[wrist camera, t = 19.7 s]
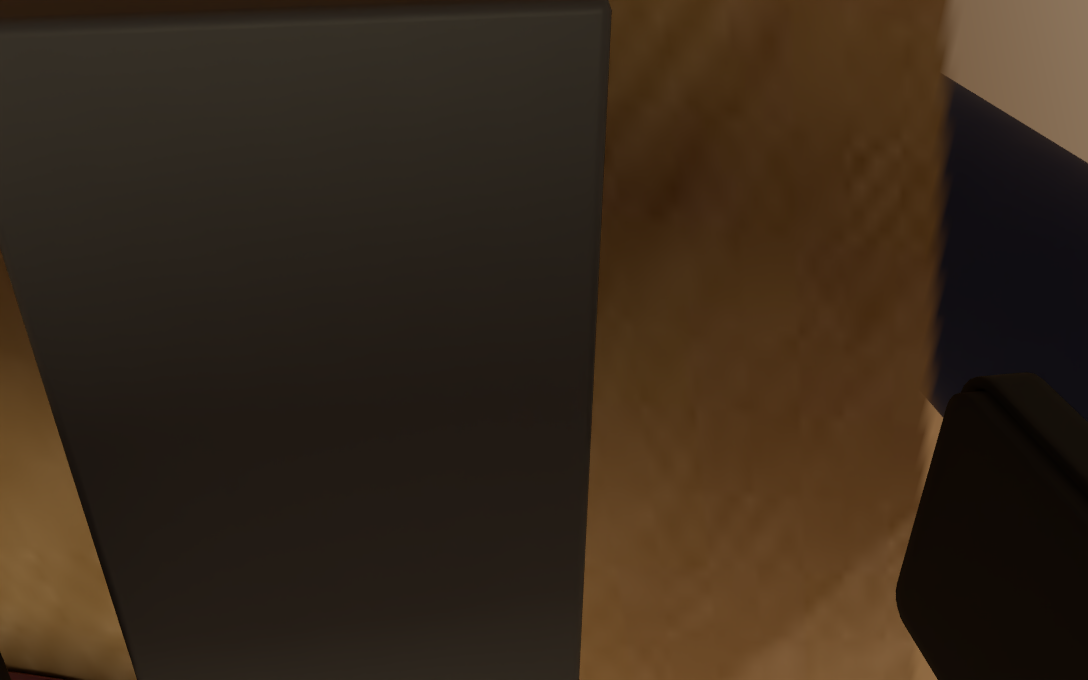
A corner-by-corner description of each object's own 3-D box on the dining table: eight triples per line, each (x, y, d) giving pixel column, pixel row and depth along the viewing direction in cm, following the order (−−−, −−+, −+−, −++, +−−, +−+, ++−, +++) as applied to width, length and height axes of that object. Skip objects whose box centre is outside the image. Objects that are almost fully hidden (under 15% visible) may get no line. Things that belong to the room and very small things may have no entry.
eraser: (495, -126, 10) (617, -1, 6) (503, 468, 15) (577, 772, 11) (87, -120, 10) (-77, 23, 6) (221, 501, 14) (184, 837, 10)
